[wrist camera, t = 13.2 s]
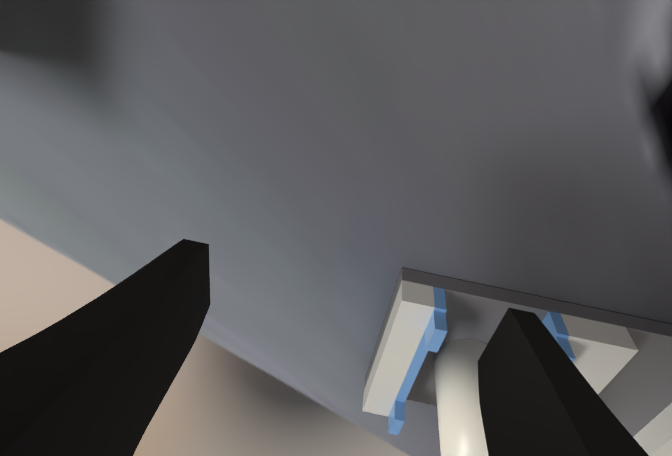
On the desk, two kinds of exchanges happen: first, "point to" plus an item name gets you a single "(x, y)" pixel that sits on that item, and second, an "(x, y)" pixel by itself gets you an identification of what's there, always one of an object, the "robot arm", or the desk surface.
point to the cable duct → (561, 321)
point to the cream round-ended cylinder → (459, 398)
